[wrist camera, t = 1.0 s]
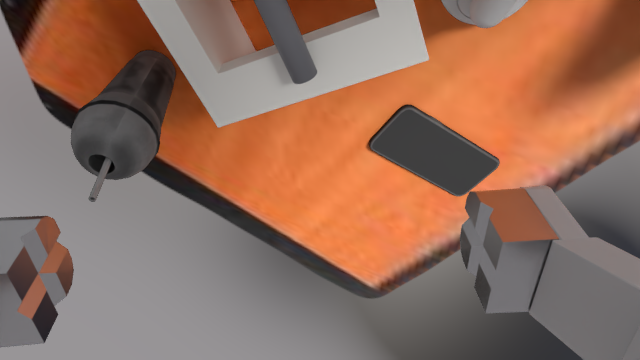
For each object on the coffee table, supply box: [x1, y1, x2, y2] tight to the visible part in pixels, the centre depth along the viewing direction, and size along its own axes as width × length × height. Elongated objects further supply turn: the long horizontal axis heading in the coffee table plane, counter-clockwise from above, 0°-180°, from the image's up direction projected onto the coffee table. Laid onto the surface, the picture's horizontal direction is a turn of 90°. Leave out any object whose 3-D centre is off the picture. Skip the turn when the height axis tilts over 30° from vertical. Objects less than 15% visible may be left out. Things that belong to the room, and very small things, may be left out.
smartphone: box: [369, 105, 499, 196], centre depth 58 cm, size 7×1×15 cm
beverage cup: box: [71, 50, 176, 202], centre depth 44 cm, size 7×7×20 cm
